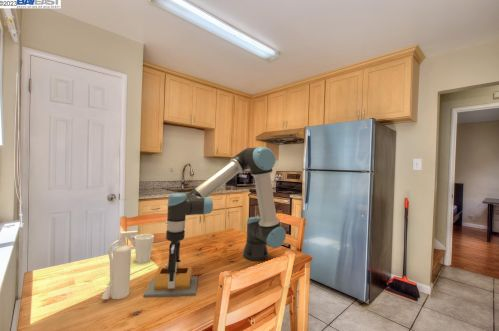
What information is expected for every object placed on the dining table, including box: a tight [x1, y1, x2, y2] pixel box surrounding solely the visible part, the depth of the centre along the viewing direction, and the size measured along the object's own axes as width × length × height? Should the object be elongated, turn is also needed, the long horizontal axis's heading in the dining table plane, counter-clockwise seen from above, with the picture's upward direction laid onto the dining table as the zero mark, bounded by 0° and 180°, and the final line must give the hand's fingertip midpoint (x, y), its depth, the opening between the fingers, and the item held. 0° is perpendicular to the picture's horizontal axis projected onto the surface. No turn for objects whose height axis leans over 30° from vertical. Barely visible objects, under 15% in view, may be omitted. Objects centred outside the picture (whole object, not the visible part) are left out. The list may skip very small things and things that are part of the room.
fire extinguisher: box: [101, 230, 139, 300], centre depth 92 cm, size 7×12×25 cm, turn 144°
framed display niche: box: [154, 266, 193, 290], centre depth 101 cm, size 14×8×6 cm, turn 99°
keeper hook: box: [164, 262, 177, 273], centre depth 100 cm, size 5×2×10 cm, turn 99°
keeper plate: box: [143, 275, 199, 298], centre depth 101 cm, size 20×14×1 cm
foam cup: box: [133, 233, 155, 264], centre depth 125 cm, size 10×9×13 cm
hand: (173, 282), depth 101 cm, fingers closed on framed display niche, 8 cm apart
